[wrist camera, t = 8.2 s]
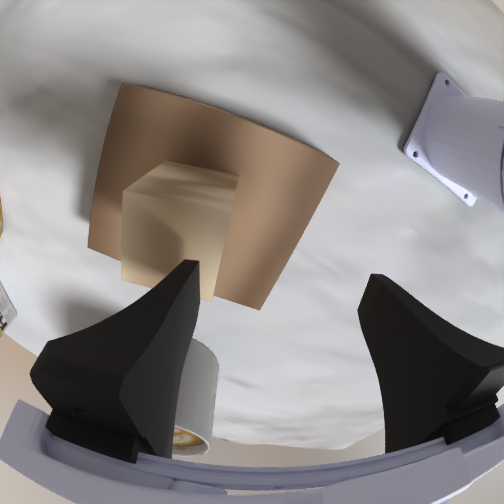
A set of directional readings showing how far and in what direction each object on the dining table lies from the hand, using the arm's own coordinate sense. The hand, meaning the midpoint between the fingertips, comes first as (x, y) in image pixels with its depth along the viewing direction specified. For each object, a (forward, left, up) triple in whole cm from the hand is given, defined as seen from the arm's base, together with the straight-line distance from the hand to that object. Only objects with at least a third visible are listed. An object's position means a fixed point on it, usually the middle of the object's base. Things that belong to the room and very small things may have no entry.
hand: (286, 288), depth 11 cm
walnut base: (+5, +1, -10) cm, 11 cm away
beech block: (+5, +1, -7) cm, 9 cm away
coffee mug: (+4, +21, -10) cm, 24 cm away
